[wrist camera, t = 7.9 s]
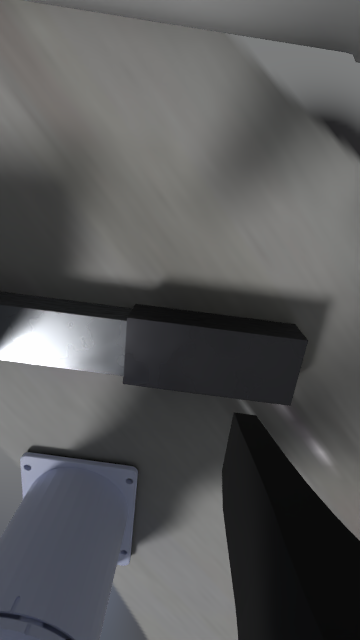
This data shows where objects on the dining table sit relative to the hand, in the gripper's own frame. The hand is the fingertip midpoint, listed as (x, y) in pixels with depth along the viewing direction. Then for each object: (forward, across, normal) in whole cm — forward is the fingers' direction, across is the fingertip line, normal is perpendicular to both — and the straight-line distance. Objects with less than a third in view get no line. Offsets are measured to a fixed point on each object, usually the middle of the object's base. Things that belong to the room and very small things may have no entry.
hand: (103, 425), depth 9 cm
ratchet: (+10, +4, +2) cm, 11 cm away
